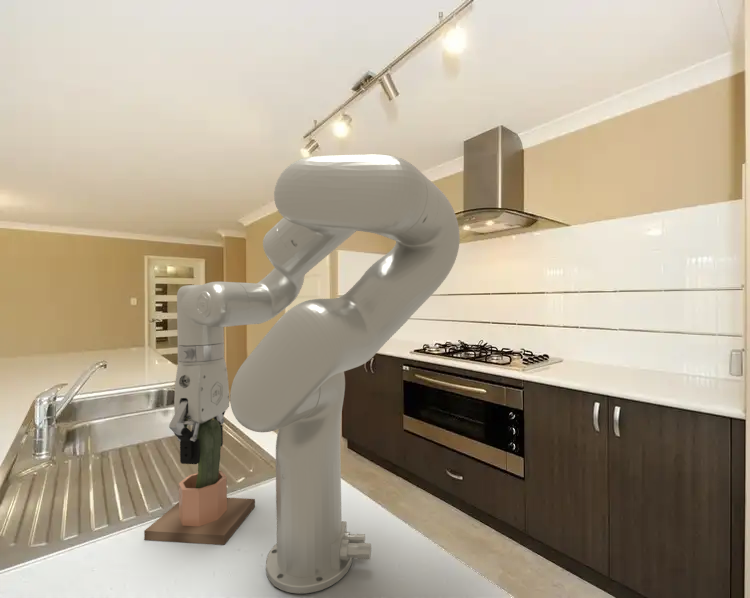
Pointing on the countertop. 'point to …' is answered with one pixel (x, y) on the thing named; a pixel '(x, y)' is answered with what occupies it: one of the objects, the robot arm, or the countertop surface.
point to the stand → (205, 534)
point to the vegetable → (209, 453)
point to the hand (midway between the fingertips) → (202, 453)
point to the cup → (202, 501)
